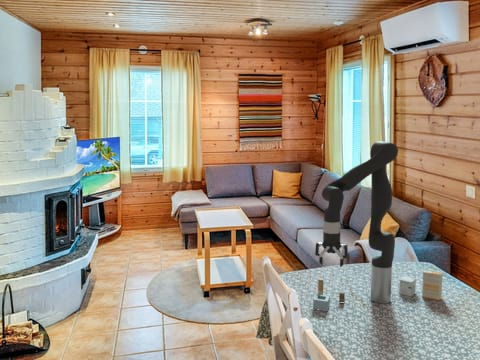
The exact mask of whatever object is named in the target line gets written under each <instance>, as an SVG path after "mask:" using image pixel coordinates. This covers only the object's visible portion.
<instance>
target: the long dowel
mask: <svg viewBox="0 0 480 360" xmlns="http://www.w3.org/2000/svg"><path fill="white" fill-rule="evenodd" d="M317 282H318V283H317V284H318V285H317V294H320V295H324V279H323V278H318V281H317Z"/></svg>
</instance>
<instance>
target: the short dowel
mask: <svg viewBox="0 0 480 360" xmlns="http://www.w3.org/2000/svg"><path fill="white" fill-rule="evenodd" d="M345 294H346V293H345V292H342V291H341V292H339V294H338V295H339V296H338V297H339V299H338V300H339V301H338V303H339V302H344V303H345Z"/></svg>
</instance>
